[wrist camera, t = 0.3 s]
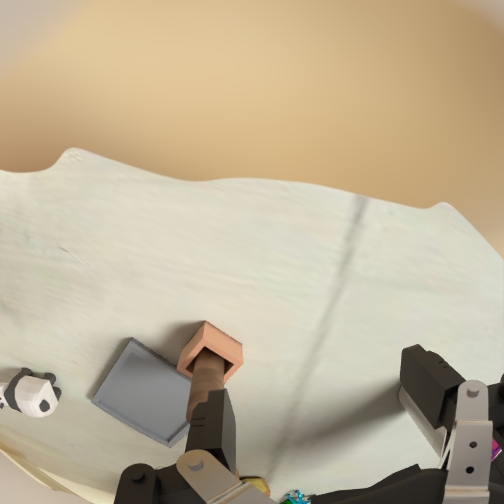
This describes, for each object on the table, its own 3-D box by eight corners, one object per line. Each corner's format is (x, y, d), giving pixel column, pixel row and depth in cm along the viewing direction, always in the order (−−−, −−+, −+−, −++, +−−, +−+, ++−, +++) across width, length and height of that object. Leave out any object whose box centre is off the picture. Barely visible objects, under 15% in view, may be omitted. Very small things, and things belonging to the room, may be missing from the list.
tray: (221, 392, 43) (221, 399, 42) (171, 441, 46) (170, 448, 44) (132, 337, 40) (128, 343, 39) (94, 396, 43) (91, 402, 41)
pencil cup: (241, 343, 42) (243, 363, 37) (216, 372, 42) (215, 392, 38) (205, 320, 40) (202, 337, 36) (181, 350, 41) (176, 369, 36)
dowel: (229, 348, 41) (230, 416, 27) (214, 365, 41) (209, 434, 28) (207, 334, 40) (198, 399, 26) (192, 352, 41) (179, 419, 27)
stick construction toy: (298, 491, 49) (315, 516, 44) (318, 478, 53) (334, 502, 48) (268, 501, 54) (283, 524, 49) (288, 491, 58) (302, 513, 54)
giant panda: (58, 372, 41) (34, 404, 32) (67, 396, 43) (47, 429, 33) (4, 361, 40) (-21, 386, 31) (14, 384, 42) (-9, 410, 32)
